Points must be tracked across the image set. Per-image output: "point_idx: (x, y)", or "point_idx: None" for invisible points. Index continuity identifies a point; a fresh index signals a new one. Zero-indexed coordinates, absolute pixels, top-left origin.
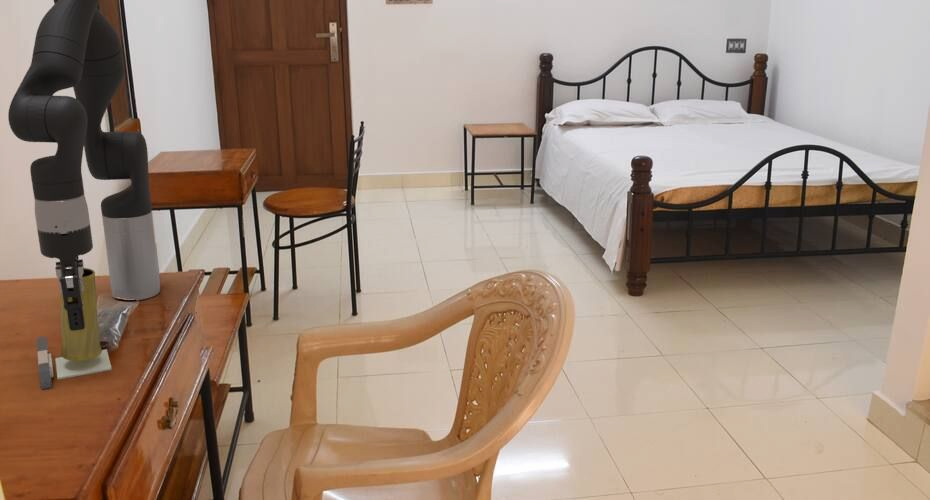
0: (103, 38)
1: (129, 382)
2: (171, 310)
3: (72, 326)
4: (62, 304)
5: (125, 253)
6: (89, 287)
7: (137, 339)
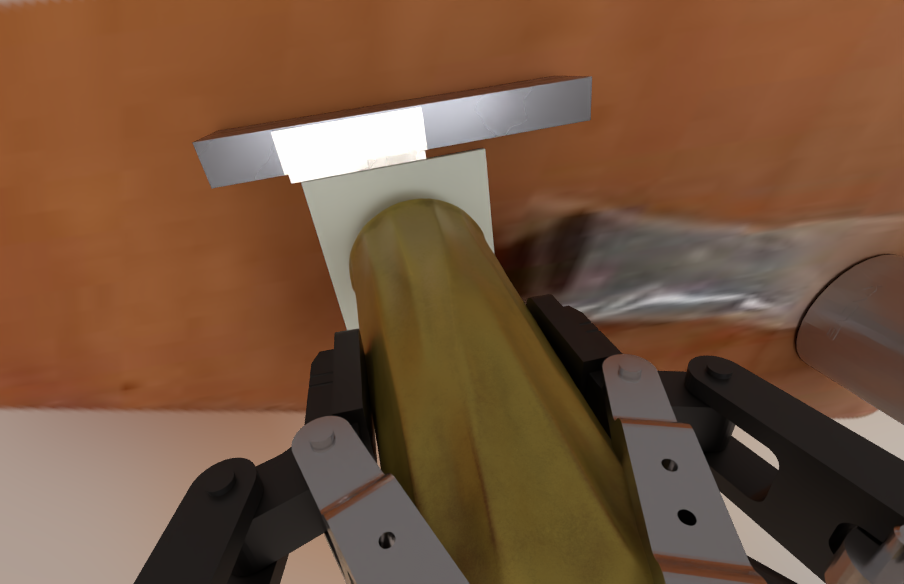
0: None
1: (249, 392)
2: None
3: (315, 363)
4: (433, 373)
5: None
6: None
7: None
